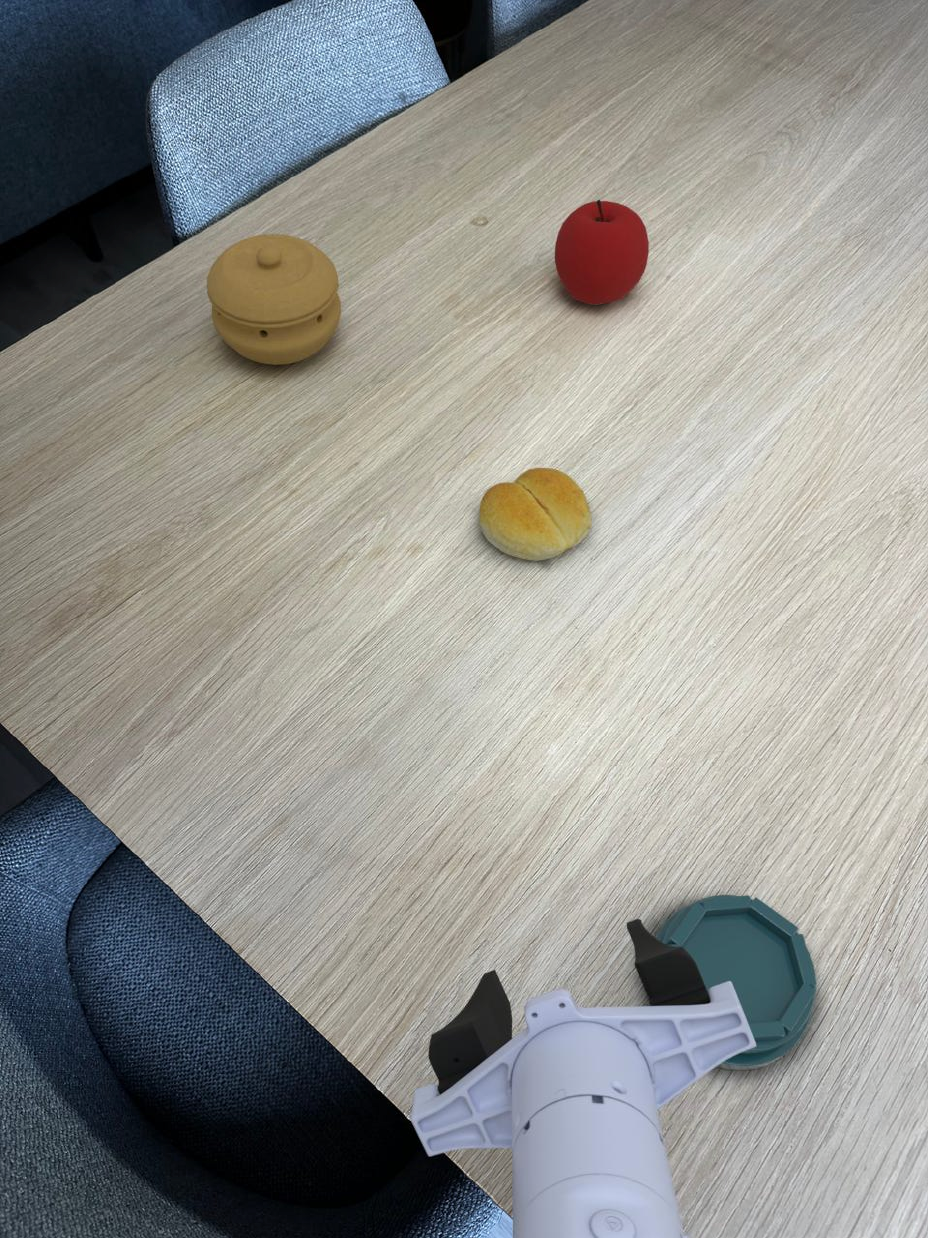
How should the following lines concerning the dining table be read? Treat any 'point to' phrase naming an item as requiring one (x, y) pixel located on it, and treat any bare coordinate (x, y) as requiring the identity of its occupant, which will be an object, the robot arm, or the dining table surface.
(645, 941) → the robot arm
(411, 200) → the dining table surface
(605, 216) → the apple
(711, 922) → the stand
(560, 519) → the bread roll
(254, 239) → the pot
